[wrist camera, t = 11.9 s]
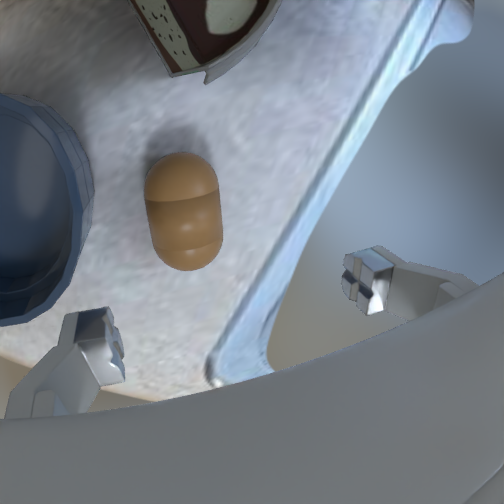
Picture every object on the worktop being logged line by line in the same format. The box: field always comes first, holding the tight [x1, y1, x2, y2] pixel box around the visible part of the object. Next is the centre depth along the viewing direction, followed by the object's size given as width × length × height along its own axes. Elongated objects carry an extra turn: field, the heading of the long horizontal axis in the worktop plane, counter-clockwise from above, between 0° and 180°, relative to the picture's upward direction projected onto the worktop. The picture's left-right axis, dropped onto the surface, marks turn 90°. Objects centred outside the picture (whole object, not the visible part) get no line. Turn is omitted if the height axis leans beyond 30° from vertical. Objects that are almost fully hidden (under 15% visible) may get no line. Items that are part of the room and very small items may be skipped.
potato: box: [144, 152, 223, 271], centre depth 20 cm, size 8×5×5 cm, turn 3°
